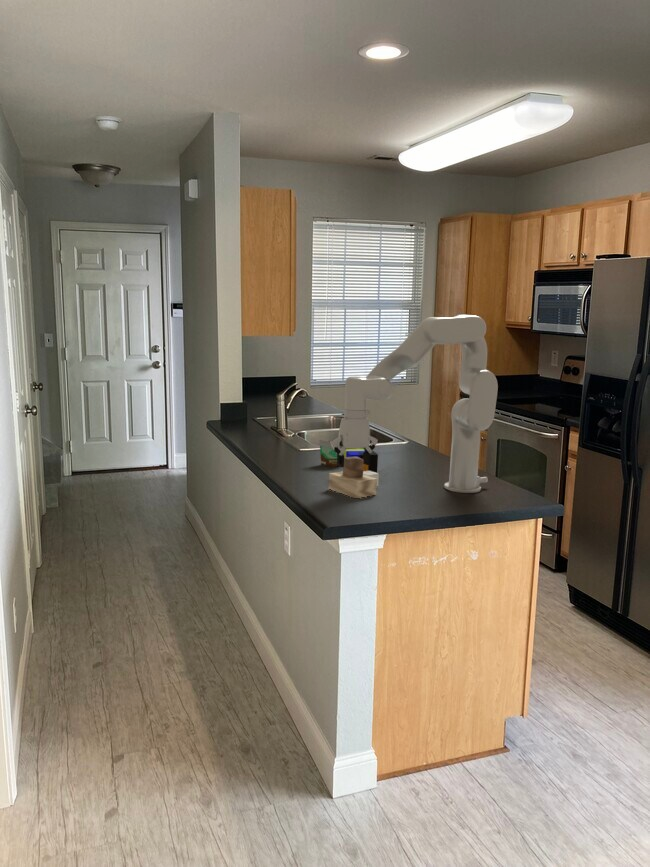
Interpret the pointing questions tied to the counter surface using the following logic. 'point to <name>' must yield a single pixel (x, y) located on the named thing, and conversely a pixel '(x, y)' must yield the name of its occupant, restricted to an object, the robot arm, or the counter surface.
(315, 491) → the counter surface
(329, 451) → the food container
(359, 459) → the walnut block
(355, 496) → the maple block
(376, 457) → the puzzle toy
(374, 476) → the offwhite cube
